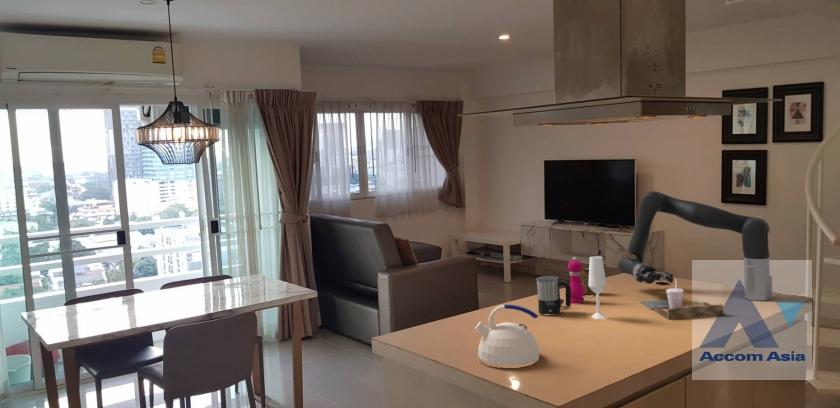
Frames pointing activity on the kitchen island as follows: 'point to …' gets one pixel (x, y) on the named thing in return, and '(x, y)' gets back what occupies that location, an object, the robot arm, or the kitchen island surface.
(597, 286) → the champagne flute
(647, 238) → the robot arm
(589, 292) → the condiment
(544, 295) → the milk frother
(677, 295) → the smoothie
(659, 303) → the slate mat
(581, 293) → the pepper mill
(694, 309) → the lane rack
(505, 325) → the kettle
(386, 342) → the kitchen island surface
